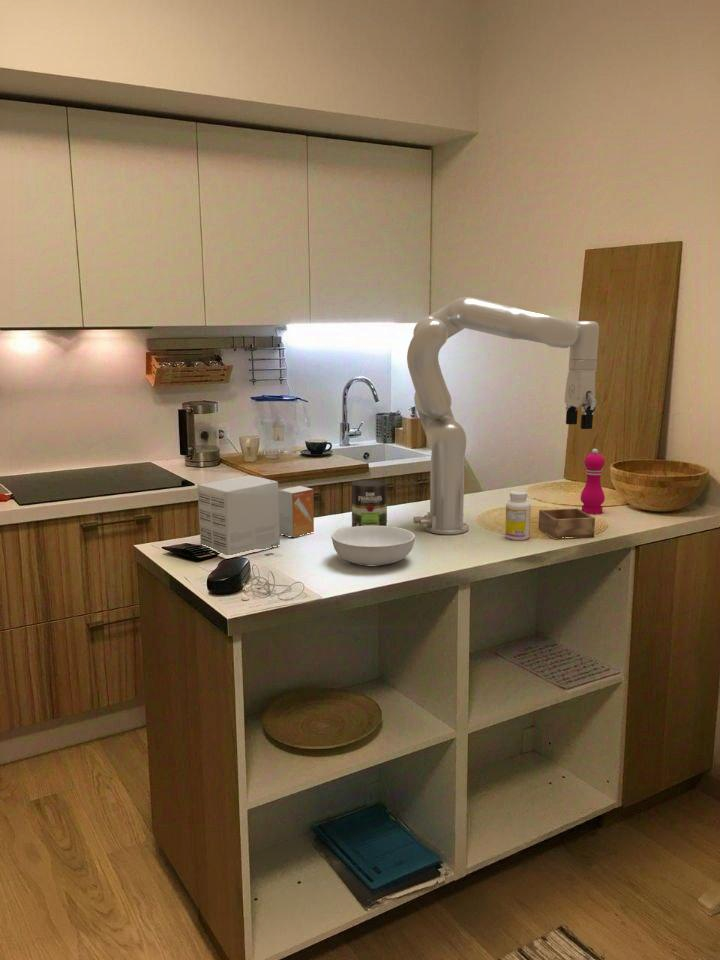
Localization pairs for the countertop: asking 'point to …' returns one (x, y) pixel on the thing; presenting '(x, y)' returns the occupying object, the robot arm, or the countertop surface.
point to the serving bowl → (373, 544)
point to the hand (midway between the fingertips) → (578, 426)
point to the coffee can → (369, 502)
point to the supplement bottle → (518, 516)
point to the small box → (296, 511)
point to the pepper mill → (593, 484)
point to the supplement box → (239, 514)
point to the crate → (567, 523)
